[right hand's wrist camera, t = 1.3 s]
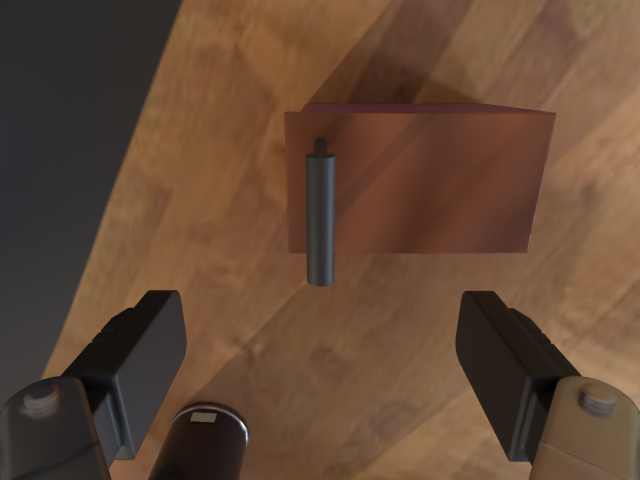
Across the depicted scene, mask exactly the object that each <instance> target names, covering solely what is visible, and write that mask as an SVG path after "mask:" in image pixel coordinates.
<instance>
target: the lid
mask: <svg viewBox="0 0 640 480" xmlns="http://www.w3.org/2000/svg"><path fill="white" fill-rule="evenodd" d="M555 118H556V113H552V112H285V114H284V122H285V154H286V186H287V218H288V250H289V253H307V281H308V283H309V284H311V285H313V286H328V285H330V284H332V283H333V281H334V253H527V252H528V248H529V243H530V238H531V233H532V228H533V224H534V219H535V214H536V209H537V205H538V200H539V195H540V190H541V185H542V181H543V176H544V171H545V166H546V161H547V157H548V152H549V147H550V142H551V137H552V133H553V128H554V123H555Z"/></svg>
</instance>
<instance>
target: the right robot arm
mask: <svg viewBox="0 0 640 480" xmlns="http://www.w3.org/2000/svg"><path fill="white" fill-rule="evenodd" d="M186 343H187V340H186V331H185V324H184V318H183V311H182V304H181V298H180V294H179V292H178V291H177V290H149V291H148V292H147V293H146V294H145V295H144V296H143V297H142V299H141V300H140V301H139V302H138V303H137V305H136V306H135V307H134V308H127V309H126V310H124V311H122V312H121V313H119V314H118V315H116V316H114V317H113V318H111V320H110V321H109V322H108V323H107V324H106V325H105V326H104V327H103V329H102V330H101V333H98V334H97V335H96V336H95V338H94V339H93V340H92V343H89V344H88V345H87V347H86V348H85V349H84V350H83V351H82V352H81V353H80V354H79V356H78V357H77V358H76V359H75V360H74V361H73V362H72V363H71V365H70V366H69V367H68V368H67V369H66V370H65V371H64V372H63V374H62V375H61V376H57V377H51V378H47V379H44V380H41V381H38V382H35V383H33V384H31V385H29V386H27V387H25V388H23V389H22V390H20V391H19V392H17V393H16V394H15V395H13V396H12V397H11V398H10V399H9V400H8V401H7V402H6V403H5V405H4V406H3V407H2V410H1V411H0V480H111V476H110V473H109V468H110V466H111V464H112V462H113V461H114V460H134V458H135V456H136V454H137V452H138V450H139V448H140V446H141V444H142V442H143V440H144V438H145V436H146V434H147V432H148V430H149V428H150V426H151V424H152V422H153V420H154V418H155V416H156V414H157V412H158V410H159V408H160V406H161V404H162V402H163V400H164V398H165V396H166V394H167V392H168V390H169V388H170V386H171V384H172V382H173V380H174V378H175V376H176V374H177V372H178V370H179V368H180V366H181V364H182V361H183V359H184V356H185V352H186ZM456 353H457V357H458V360H459V362H460V364H461V366H462V368H463V370H464V372H465V374H466V376H467V378H468V380H469V382H470V384H471V386H472V388H473V390H474V392H475V394H476V396H477V398H478V400H479V402H480V404H481V406H482V408H483V410H484V412H485V414H486V416H487V418H488V420H489V422H490V424H491V426H492V428H493V430H494V432H495V434H496V436H497V438H498V440H499V442H500V444H501V446H502V448H503V450H504V452H505V454H506V456H507V458H508V460H509V462H530V463H531V465H532V470H531V473H530V476H529V480H640V411H639V409H638V407H637V406H636V405H635V403H634V402H633V401H632V400H631V399H630V398H629V397H628V396H627V395H625V394H624V393H623V392H621V391H620V390H618V389H617V388H615V387H613V386H611V385H609V384H607V383H605V382H602V381H599V380H596V379H593V378H589V377H583V376H582V375H581V374H580V373H579V372H578V371H577V370H576V369H575V368H574V367H573V365H572V364H571V363H570V362H569V361H568V360H567V359H566V358H565V356H564V355H563V354H562V353H561V352H560V351H559V350H558V349H557V348H556V346H555V345H554V344H551V341H550V340H549V339H548V338H547V336H546V335H545V334H544V333H542V331H541V330H540V329H539V328H538V326H537V325H536V324H535V323H534V322H533V321H532V320H531V319H530V318H529V317H527V316H525V315H524V314H522V313H520V312H519V311H517V310H516V309H514V308H508V307H507V306H506V305H505V304H504V302H503V301H502V300H501V299H500V298H499V296H498V295H497V294H496V293H495V292H494V291H465V292H464V293H463V295H462V299H461V305H460V312H459V319H458V326H457V332H456ZM248 438H249V432H248V428H247V425H246V423H245V421H244V420H243V419H242V417H241V416H240V415H239V414H237V413H236V412H235V411H233V410H232V409H230V408H228V407H225V406H223V405H219V404H215V403H197V404H193V405H190V406H187V407H185V408H184V409H182V410H181V411H179V412H178V413H177V414H176V416H175V417H174V419H173V421H172V423H171V425H170V428H169V432H168V434H167V437H166V439H165V441H164V444H163V446H162V448H161V450H160V453H159V455H158V457H157V459H156V462H155V464H154V466H153V469H152V471H151V473H150V476H149V478H148V480H239V477H240V472H241V468H242V463H243V458H244V453H245V449H246V447H247V443H248Z"/></svg>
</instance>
